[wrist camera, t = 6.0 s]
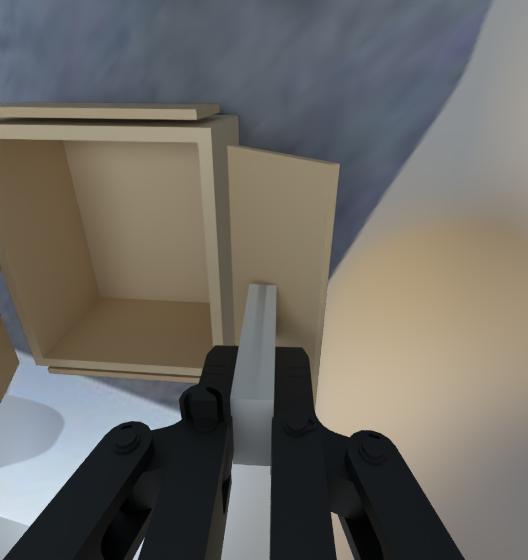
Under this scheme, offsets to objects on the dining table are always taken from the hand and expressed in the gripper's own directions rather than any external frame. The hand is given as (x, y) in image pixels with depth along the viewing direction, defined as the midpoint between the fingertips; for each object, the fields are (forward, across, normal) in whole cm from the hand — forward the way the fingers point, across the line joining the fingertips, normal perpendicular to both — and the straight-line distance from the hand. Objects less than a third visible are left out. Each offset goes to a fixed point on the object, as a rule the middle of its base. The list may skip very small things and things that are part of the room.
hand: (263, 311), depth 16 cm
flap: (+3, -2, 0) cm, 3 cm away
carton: (+11, -8, 0) cm, 14 cm away
